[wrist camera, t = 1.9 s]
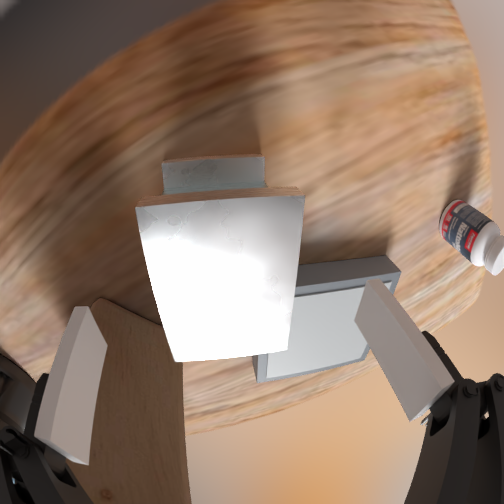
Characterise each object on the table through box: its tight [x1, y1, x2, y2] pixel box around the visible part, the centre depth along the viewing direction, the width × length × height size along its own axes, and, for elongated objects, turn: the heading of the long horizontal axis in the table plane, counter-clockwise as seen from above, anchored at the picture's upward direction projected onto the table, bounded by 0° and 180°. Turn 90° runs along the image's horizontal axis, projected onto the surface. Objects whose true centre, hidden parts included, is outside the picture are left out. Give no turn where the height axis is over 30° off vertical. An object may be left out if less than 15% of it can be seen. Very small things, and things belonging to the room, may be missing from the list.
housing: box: [135, 154, 305, 362], centre depth 17 cm, size 7×10×9 cm
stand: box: [253, 255, 401, 383], centre depth 27 cm, size 14×14×3 cm
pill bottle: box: [439, 200, 504, 275], centre depth 22 cm, size 5×5×9 cm
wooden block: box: [66, 298, 191, 504], centre depth 18 cm, size 10×10×20 cm
